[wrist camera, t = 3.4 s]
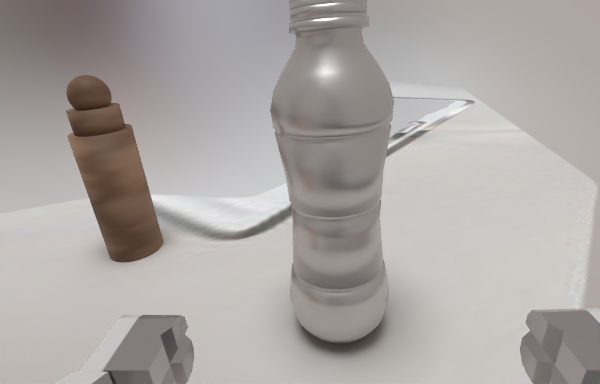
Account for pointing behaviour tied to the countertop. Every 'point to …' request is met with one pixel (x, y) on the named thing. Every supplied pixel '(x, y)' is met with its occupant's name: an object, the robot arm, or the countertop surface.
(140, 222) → the pepper mill
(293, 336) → the countertop surface
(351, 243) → the plastic bottle
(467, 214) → the countertop surface
